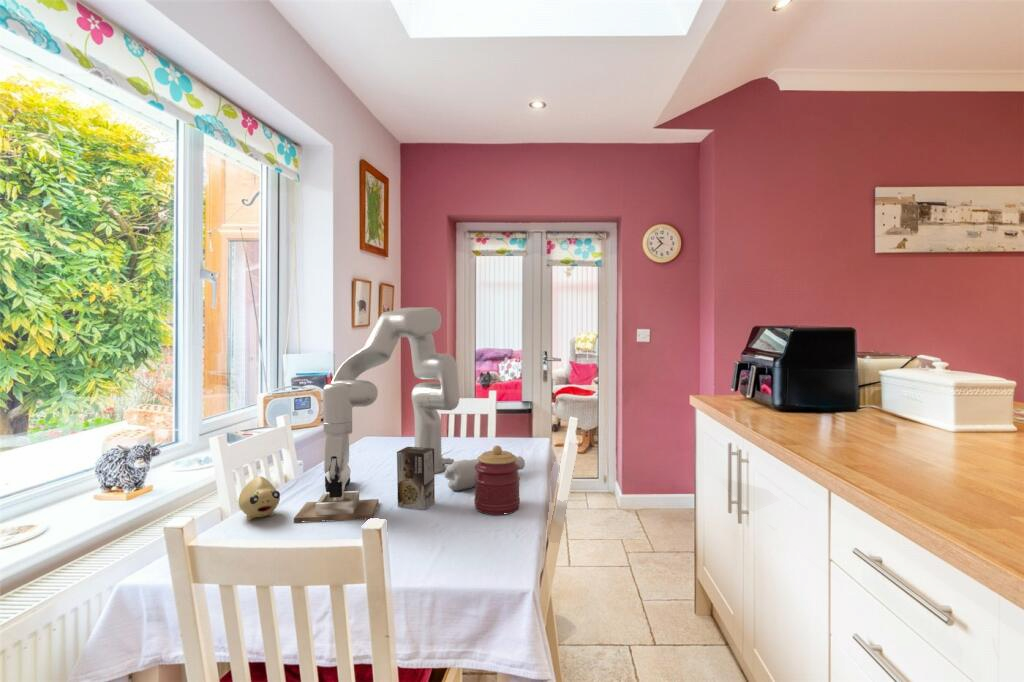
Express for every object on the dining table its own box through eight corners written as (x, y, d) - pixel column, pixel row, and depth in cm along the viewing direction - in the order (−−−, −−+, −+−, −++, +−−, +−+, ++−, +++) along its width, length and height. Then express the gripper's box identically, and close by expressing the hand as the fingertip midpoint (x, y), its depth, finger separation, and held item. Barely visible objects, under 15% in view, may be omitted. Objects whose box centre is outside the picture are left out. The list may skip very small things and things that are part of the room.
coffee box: (435, 503, 142) (435, 448, 142) (424, 510, 136) (424, 453, 136) (408, 499, 145) (408, 445, 145) (396, 506, 139) (396, 450, 139)
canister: (485, 519, 130) (485, 453, 129) (467, 503, 141) (467, 443, 141) (528, 511, 136) (528, 448, 135) (507, 496, 147) (507, 438, 147)
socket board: (378, 503, 142) (378, 488, 142) (372, 518, 130) (372, 503, 130) (306, 506, 139) (306, 491, 139) (293, 522, 127) (293, 506, 127)
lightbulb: (323, 505, 131) (323, 465, 131) (330, 497, 138) (329, 459, 137) (347, 505, 132) (347, 464, 132) (353, 497, 138) (352, 458, 138)
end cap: (350, 491, 153) (350, 470, 153) (326, 494, 150) (326, 472, 150) (347, 482, 162) (347, 462, 162) (324, 485, 159) (324, 464, 159)
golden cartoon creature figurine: (245, 529, 123) (244, 487, 123) (235, 515, 132) (234, 476, 132) (286, 519, 130) (286, 479, 129) (274, 507, 139) (274, 470, 139)
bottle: (463, 485, 148) (532, 470, 168) (454, 457, 151) (523, 445, 172) (448, 496, 153) (517, 479, 173) (439, 469, 157) (508, 455, 177)
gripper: (331, 422, 142) (331, 483, 143) (315, 434, 125) (316, 504, 126) (357, 421, 143) (358, 482, 144) (345, 434, 126) (346, 503, 127)
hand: (338, 492), depth 135 cm, fingers closed on lightbulb, 5 cm apart
